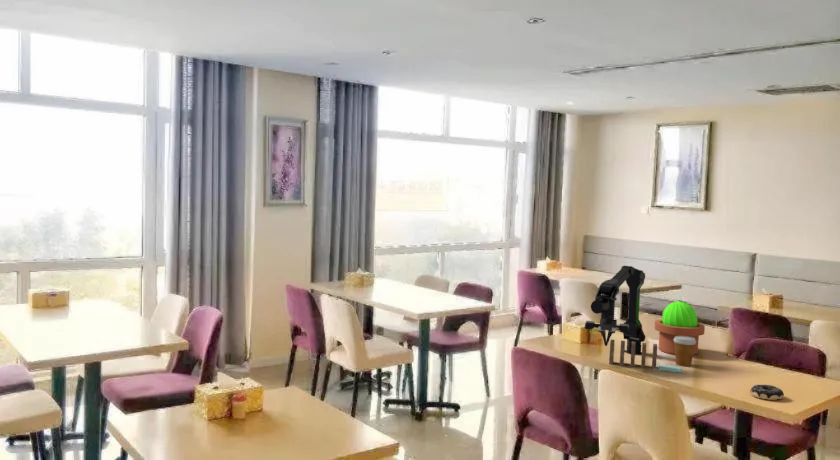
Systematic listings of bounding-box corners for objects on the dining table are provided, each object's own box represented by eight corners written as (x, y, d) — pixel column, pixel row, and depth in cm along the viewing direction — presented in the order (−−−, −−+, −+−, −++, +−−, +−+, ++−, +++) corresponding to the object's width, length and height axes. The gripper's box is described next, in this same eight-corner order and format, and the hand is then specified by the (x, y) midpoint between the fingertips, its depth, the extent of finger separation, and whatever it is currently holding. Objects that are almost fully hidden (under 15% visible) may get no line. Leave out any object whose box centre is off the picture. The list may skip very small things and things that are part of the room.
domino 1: (609, 364, 311) (610, 341, 310) (609, 361, 315) (610, 339, 315) (612, 364, 310) (614, 342, 309) (613, 361, 315) (614, 339, 314)
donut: (788, 399, 268) (789, 388, 267) (772, 403, 261) (772, 393, 261) (760, 391, 277) (761, 381, 276) (743, 395, 270) (744, 385, 270)
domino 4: (641, 367, 306) (642, 344, 306) (641, 364, 311) (642, 342, 311) (645, 367, 306) (646, 345, 305) (645, 365, 311) (646, 342, 310)
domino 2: (619, 365, 309) (620, 342, 309) (620, 362, 314) (621, 340, 313) (623, 365, 309) (624, 343, 308) (623, 363, 313) (625, 340, 313)
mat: (658, 370, 303) (658, 369, 303) (658, 365, 310) (658, 364, 310) (681, 372, 300) (681, 371, 300) (680, 368, 308) (680, 367, 308)
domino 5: (652, 368, 305) (653, 345, 304) (651, 366, 310) (653, 343, 309) (655, 369, 305) (657, 346, 304) (655, 366, 309) (657, 343, 309)
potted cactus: (670, 357, 327) (674, 304, 325) (645, 346, 348) (647, 296, 346) (712, 356, 332) (715, 303, 330) (684, 345, 353) (687, 296, 351)
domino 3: (630, 366, 308) (631, 343, 307) (630, 363, 313) (631, 341, 312) (634, 366, 307) (635, 344, 307) (634, 364, 312) (635, 341, 311)
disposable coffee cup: (691, 362, 319) (692, 336, 318) (697, 367, 309) (699, 340, 308) (669, 361, 320) (671, 335, 319) (675, 366, 310) (676, 339, 309)
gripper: (584, 312, 307) (582, 347, 308) (629, 316, 301) (627, 352, 303) (586, 308, 318) (585, 342, 319) (629, 311, 312) (628, 346, 313)
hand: (605, 345), depth 313 cm, fingers closed
